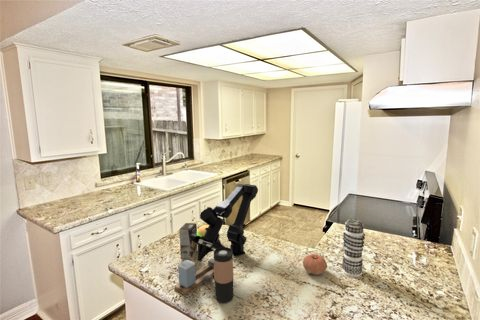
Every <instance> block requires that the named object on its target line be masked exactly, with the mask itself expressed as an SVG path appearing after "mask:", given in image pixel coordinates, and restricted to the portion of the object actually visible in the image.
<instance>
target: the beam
mask: <svg viewBox="0 0 480 320" xmlns="http://www.w3.org/2000/svg"><path fill="white" fill-rule="evenodd" d="M195 276H196V282H195V283H194V284H192V285H191V286H190V287H188V288H184V287H183V286H182V285H180V284H179V282H178V283H176V284H175V285H174V290H175V291H176V292H178V293H180V294H183V295H184V296H188V295H189V294H190V293H191V292H193V291H194V290H196V289H197V288H198V287H200V286H201V285H203V284H206V285H209V284H211V283H212V282H213V277H214V257H213V258H210V259H209V260H207V264H206V265H204V266H202V267H200V269H198V270H196V271H195Z"/></svg>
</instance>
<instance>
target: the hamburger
mask: <svg viewBox="0 0 480 320" xmlns="http://www.w3.org/2000/svg"><path fill="white" fill-rule="evenodd" d="M208 227H209V225H208V224H203V225H201V226H200V227H198V229H197V235H198V236H199V237H202V236H204V235H205V233H206V230H205V229H206V228H208Z"/></svg>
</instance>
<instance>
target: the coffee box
mask: <svg viewBox="0 0 480 320" xmlns="http://www.w3.org/2000/svg"><path fill="white" fill-rule="evenodd" d="M197 227H198V226H197V223H195V222H185V223H184V224H183V225H182V226H181V227H180V228H179V247H180V248H179V249H180V250H179V252H180V258H181V259H186V260H192V259H193V258H194V256H195V255H196V254H197V253H198V244H197V243H195V242H193V241H192V240H190V239H189V237H190V235H191V234H195V235H197V231H198V229H197Z"/></svg>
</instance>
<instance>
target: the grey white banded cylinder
mask: <svg viewBox="0 0 480 320" xmlns="http://www.w3.org/2000/svg"><path fill="white" fill-rule="evenodd" d="M344 224H345V228H344V232H343V236H342V237H343V238H342V240H343V243H342V244H343V245H342V246H343V250H344V251H343V256H342V267H341V268H342V269H341V270H342V272H343V273H344V274H345V275H347V276H349V277H353V278H358V277H361V276H362V274H363V262H364V259H363V251H364V247H365V245H364V244H365V241H364V240H365V239H366V238H365V237H366V233H365V232H364V227H365V224H364V223H363V222H362V221H361V220H359V219H356V218H350V219H349V218H348V219H347V220H346V221H344Z"/></svg>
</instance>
